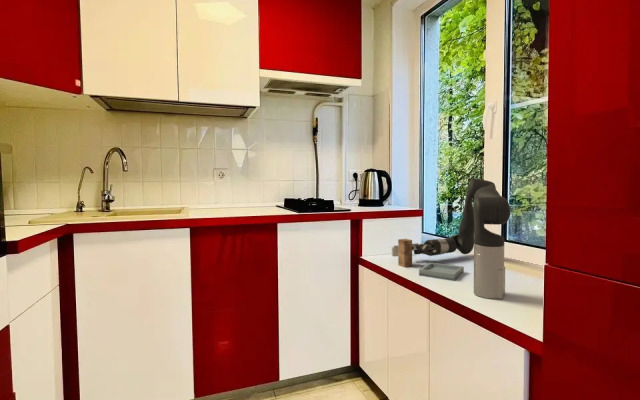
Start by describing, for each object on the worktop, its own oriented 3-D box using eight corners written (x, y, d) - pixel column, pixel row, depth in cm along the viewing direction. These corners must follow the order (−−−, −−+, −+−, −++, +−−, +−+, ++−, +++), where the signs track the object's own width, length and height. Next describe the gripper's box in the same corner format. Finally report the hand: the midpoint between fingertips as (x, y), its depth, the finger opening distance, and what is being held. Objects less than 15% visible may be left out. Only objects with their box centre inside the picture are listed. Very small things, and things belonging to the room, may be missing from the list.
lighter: (392, 256, 178) (392, 240, 178) (391, 255, 180) (391, 240, 180) (406, 255, 179) (406, 240, 179) (404, 254, 181) (404, 239, 180)
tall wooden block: (406, 264, 162) (406, 238, 161) (412, 266, 158) (412, 240, 157) (398, 265, 160) (398, 239, 159) (404, 267, 156) (404, 241, 155)
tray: (463, 272, 145) (463, 266, 145) (454, 280, 134) (454, 274, 134) (430, 268, 154) (430, 262, 154) (419, 275, 143) (419, 269, 142)
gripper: (426, 237, 172) (399, 239, 165) (447, 241, 159) (418, 244, 152) (426, 252, 172) (399, 255, 166) (447, 257, 159) (418, 261, 153)
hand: (408, 250), depth 159 cm, fingers open, 8 cm apart
